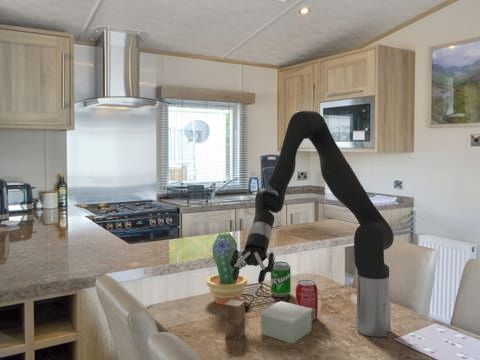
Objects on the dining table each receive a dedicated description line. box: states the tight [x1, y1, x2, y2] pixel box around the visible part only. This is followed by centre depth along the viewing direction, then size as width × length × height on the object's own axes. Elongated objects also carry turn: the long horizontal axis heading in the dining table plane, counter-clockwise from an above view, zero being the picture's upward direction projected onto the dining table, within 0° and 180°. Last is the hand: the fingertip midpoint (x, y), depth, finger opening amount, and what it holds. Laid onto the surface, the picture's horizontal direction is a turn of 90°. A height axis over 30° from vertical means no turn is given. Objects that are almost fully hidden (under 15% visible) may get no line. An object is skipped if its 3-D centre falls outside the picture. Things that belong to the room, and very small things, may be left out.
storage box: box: [259, 300, 312, 344], centre depth 130 cm, size 11×11×7 cm
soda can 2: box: [295, 279, 319, 322], centre depth 140 cm, size 7×7×12 cm
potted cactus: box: [205, 232, 248, 306], centre depth 157 cm, size 15×15×25 cm
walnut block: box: [224, 299, 246, 341], centre depth 127 cm, size 4×4×10 cm
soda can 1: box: [270, 261, 292, 298], centre depth 164 cm, size 8×8×12 cm
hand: (247, 280), depth 136 cm, fingers open, 8 cm apart
